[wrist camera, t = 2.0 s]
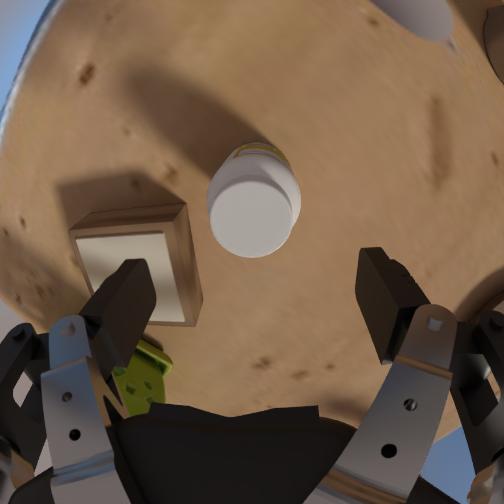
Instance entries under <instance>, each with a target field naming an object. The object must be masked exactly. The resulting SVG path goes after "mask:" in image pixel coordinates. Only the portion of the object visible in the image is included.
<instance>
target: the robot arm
mask: <svg viewBox="0 0 504 504" xmlns="http://www.w3.org/2000/svg"><path fill="white" fill-rule="evenodd" d="M487 10H488V19H487V20H486V22H485V26H484V39H485V45H486V49H487V53H488V56H489V58H490V61H491V63H492V65H493V68H494V70H495V72H496V73H497V75H498V77H499V78H500V80H501V81H502V82H503V84H504V5H501V6H496V7H492V8H488V9H487ZM355 294H356V299H357V302H358V305H359V307H360V310H361V312H362V315H363V317H364V320H365V322H366V325H367V328H368V330H369V333H370V335H371V338H372V341H373V343H374V346H375V349H376V352H377V354H378V357H379V360H380V363H381V365H385V364H391V363H393V364H392V366H391V368H390V370H389V372H388V374H387V376H386V379H385V381H384V383H383V384H382V386H381V388H380V390H379V392H378V394H377V396H376V398H375V400H374V402H373V403H372V405H371V407H370V409H369V411H368V412H367V414H366V416H365V418H364V419H363V421H362V423H361V424H360V426H359V428H358V429H356V428H355V427H353V426H351V425H349V424H346V423H344V422H341V421H338V420H334V419H330V418H325V417H319V410H318V405H316V406H303V407H287V408H273V409H269V410H265V411H260V412H256V413H251V414H247V415H242V416H236V417H225V416H221V415H218V414H214V413H210V412H207V411H204V410H200V409H197V408H194V407H190V406H184V405H173V404H164V403H156V402H151V405H150V408H149V411H148V413H143V414H138V415H134V416H130V414H129V412H128V409H127V407H126V404H125V402H124V399H123V397H122V394H121V391H120V389H119V386H118V383H117V380H116V377H115V375H114V374H113V372H112V371H113V369H114V367H122V368H127V367H128V365H129V363H130V360H131V358H132V356H133V354H134V351H135V349H136V347H137V345H138V343H139V340H140V338H141V336H142V334H143V332H144V330H145V328H146V326H147V323H148V321H149V319H150V317H151V315H152V313H153V311H154V309H155V307H156V301H157V297H156V291H155V288H154V284H153V281H152V277H151V274H150V270H149V267H148V263H147V261H146V260H145V259H144V258H137V259H126V260H124V262H123V263H122V264H121V265H120V267H119V268H118V269H117V270H116V272H114V273H113V274H111V275H110V276H109V277H107V278H106V279H105V280H104V281H103V283H102V284H101V285H100V286H99V288H98V289H97V290H96V291H95V293H94V295H92V297H91V298H90V299H89V301H88V302H87V303H86V305H85V306H84V307H83V309H82V310H81V311H80V313H79V314H78V315H69V316H66V317H63V318H61V319H60V320H58V321H57V322H56V323H55V324H54V325H53V326H52V327H51V329H50V331H49V333H43V334H37V333H36V331H35V329H34V328H33V326H32V324H30V323H22V324H19V325H17V326H16V327H14V328H13V329H12V330H11V331H10V332H9V333H8V334H7V335H6V337H5V338H4V339H3V341H2V342H1V344H0V504H460V503H459V502H457V501H456V500H454V499H453V498H451V497H450V496H448V495H446V494H445V493H444V492H442V491H441V490H439V489H438V488H436V487H434V486H433V485H432V484H430V483H429V482H427V481H426V480H425V479H423V478H422V477H421V476H419V473H420V471H421V469H422V467H423V465H424V462H425V460H426V458H427V455H428V453H429V450H430V448H431V445H432V442H433V440H434V437H435V434H436V432H437V429H438V426H439V423H440V420H441V417H442V414H443V410H444V407H445V404H446V400H447V397H448V393H449V390H450V392H451V395H452V398H453V400H454V403H455V406H456V409H457V412H458V415H459V418H460V421H461V424H462V427H463V430H464V433H465V437H466V440H467V443H468V447H469V451H470V454H471V458H472V462H473V466H474V470H475V474H476V477H475V478H474V480H473V482H472V485H471V490H470V492H469V493H468V495H467V502H468V504H504V314H502V313H501V312H498V311H495V310H485V311H483V312H482V313H481V314H480V316H479V318H478V320H477V322H476V323H466V322H457V319H456V317H455V316H454V314H453V313H452V312H451V311H450V310H448V309H447V308H445V307H443V306H440V305H436V304H431V303H430V301H429V300H428V298H427V297H426V296H425V294H424V293H423V291H422V290H421V288H420V287H419V286H418V284H417V283H415V280H414V279H413V277H412V276H410V273H409V272H408V270H407V269H406V268H405V266H403V265H402V264H400V263H399V262H397V261H396V260H394V259H391V260H390V259H389V257H388V256H387V254H386V253H385V252H384V250H383V249H382V248H381V247H370V248H361V249H360V252H359V259H358V267H357V276H356V283H355ZM23 371H24V372H25V374H26V375H27V376H28V377H29V379H30V380H31V381H32V383H33V384H32V386H31V388H30V390H29V392H28V394H27V396H26V398H25V400H24V402H23V404H22V406H21V408H20V407H19V405H18V404H17V403H16V402H15V400H14V398H13V389H14V387H15V385H16V383H17V381H18V380H19V378H20V376H21V374H22V373H23ZM491 371H492V373H493V375H494V377H495V379H496V381H497V383H498V385H499V388H500V392H501V396H500V401H499V403H498V401H497V399H496V397H495V394H494V392H493V390H492V388H491V385H490V383H489V381H488V379H487V377H488V376H489V374H490V373H491ZM46 438H47V439H48V444H49V450H50V454H51V459H52V464H53V466H52V467H50V468H49V469H47V470H46V471H44V472H42V473H41V474H39V475H37V476H36V477H34V472H35V469H36V466H37V463H38V460H39V457H40V454H41V451H42V449H43V446H44V443H45V441H46Z"/></svg>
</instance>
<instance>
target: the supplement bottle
mask: <svg viewBox="0 0 504 504" xmlns="http://www.w3.org/2000/svg"><path fill="white" fill-rule="evenodd" d="M300 208H301V194H300V190H299V186H298V183H297V181H296V178H295V176H294V174H293V172H292V169H291V167H290V164H289V162H288V160H287V159H286V157H285V156H284V155H283V154H282V152H280V151H279V150H278V149H277V148H275V147H273V146H271V145H269V144H266V143H259V142H254V143H248V144H245V145H242V146H240V147H238V148H237V149H235V150H234V151H233V152H232V153H231V154H230V155H229V156H228V157H227V159H226V160H225V161H224V163H223V164H222V165H221V167H220V168H219V169H218V171H217V172H216V173H215V175H214V177H213V178H212V180H211V183H210V185H209V188H208V192H207V209H208V213H209V215H210V226H211V230H212V233H213V235H214V237H215V238H216V240H217V241H218V242H219V243H220V245H221V246H222V247H224V248H225V249H226V250H228V251H229V252H231V253H233V254H236V255H238V256H242V257H250V258H253V257H261V256H265V255H268V254H270V253H272V252H274V251H276V250H277V249H278V248H279V247H281V246H282V245H283V244H284V242H285V241H286V240H287V238H288V236H289V234H290V232H291V229H292V227H293V225H294V224H295V222H296V220H297V218H298V216H299V213H300Z"/></svg>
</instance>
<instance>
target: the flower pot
mask: <svg viewBox="0 0 504 504" xmlns="http://www.w3.org/2000/svg"><path fill="white" fill-rule="evenodd" d="M172 367H173V362H172V360H171V359H170V358H169V356H168V355H166V354H165V353H164V352H162V351H161V350H159V349H157V348H155V347H154V346H152V345H150V344H148V343H147V342H145V341H143V340H142V339H140V340H139V343H138V345H137V347H136V349H135V351H134V354H133V356H132V358H131V360H130V363H129V365H128V367H127V368H122V367H114V369H113V371H112V372H113V374H114V375H115V377H116V380H117V383H118V386H119V389H120V391H121V394H122V397H123V399H124V402H125V404H126V407H127V409H128V412H129V414H130V416H134V415H138V414H143V413H148V411H149V408H150V405H151V402H156V403H164V404H165V401H166V398H165V386H164V380H163V378H164V377H165V376H166V375H167V374H168V372H169V371H170V370H171V369H172Z"/></svg>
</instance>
